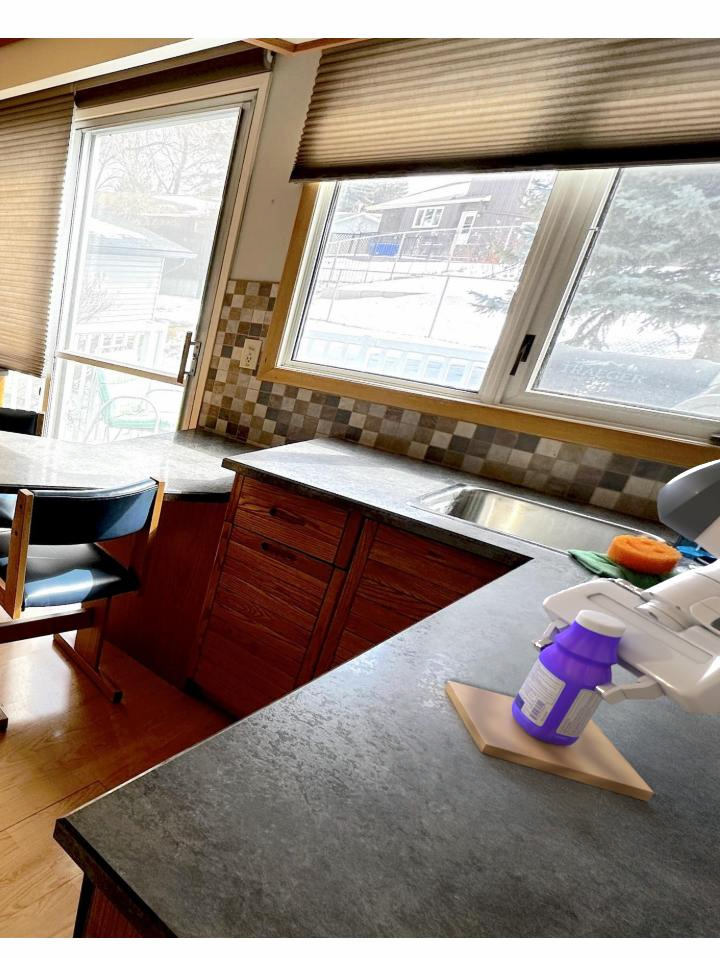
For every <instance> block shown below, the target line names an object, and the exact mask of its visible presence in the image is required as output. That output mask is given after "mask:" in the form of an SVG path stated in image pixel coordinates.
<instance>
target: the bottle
mask: <svg viewBox="0 0 720 958" xmlns="http://www.w3.org/2000/svg"><path fill="white" fill-rule="evenodd" d="M625 630H626V625H625V624H624V623H622V622H621V621H619V620H617V619H616V618H613V617H611V616H609V615H606V614H603V613H600V612H596V611H591V610H582V611H580V612H579V614H578V616H577V617H576V619H575V621H574V622H573V624H572V625H571V626H570V627H569V628H568V629H567V630H565V631H564V632H562V633H559V634H557V635H556V636H555V642H556V643H555V644H553V645H551V646H548V647H547V648H545V649H544V650H543V651H542V652H541V653H539V655H538V657H537V658H536V661H535V662H534V665H533V666H532V668H531V670H530V672H529V673H528V675H527V677H526V679H525V681H524V682H523V684H522V686H521V688H520V689H519V691H518V693H517V695H516V697H515V698H516V699H515V700H514V701H513V704H512V714H513V716H514V718H515V720H516V721H517V722H518V723H519V725H520V726H521V727H522V728H523V729H524V730H525V731H526V732H528V733H529V734H530V735H532V736H533V737H535V738H537V739H539V740H542V741H544V742H548V743H553V744H556V745H563V746H569V745H572V744H573V743H575V742H576V741H577V740H578V739H579V736H580V735H581V733H582V732H583V730H584V728H585V727H586V725H587V724H588V722H589V720H590V719H591V720H592V717H593V716H594V714H595V712H596V711H597V710H598V708H599V706H600V704H601V703H602V701H603V699H602V698H601V697H600V696H598V694H597V693H596V691H595V688H596V687H597V686H599V685H603V684H604V683H606V682H608V681H610V682H612V681H613V671H612V666H614V665H618V664H617V663H618V662H619V657H618V654H617V649H618V644H619V641H620V639H621V637H622V635H623V633H624V631H625ZM612 683H613V682H612Z"/></svg>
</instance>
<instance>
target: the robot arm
mask: <svg viewBox="0 0 720 958" xmlns="http://www.w3.org/2000/svg"><path fill="white" fill-rule="evenodd" d="M656 501H657V505H656V507H657V514H658V518H659V521H660V523H662V524H664V525H665V526H667V527H668V528H670V529H672V530H673V531H674V532H676V533H678V534H679V535H681V536H682V537H684V538H685V539H687V540H689V541H690V542H694V543H696V545H698V546H700V547H701V548H702V549H704V550H705V551H706V552H707V553H708V554H710V555H711V556H712V557H714V558H716V560H715V561H713V562H712V563H710V564H708V565H705V566H702V567H697V568H692V569H688V570H685V571H683V572H681V573H679V574H677V575H675V576H673V577H670V578H668V579H666V580H664V581H662V582H659V583H658V584H656V585H653V586H651V587H649V588H646V589H644V588H640V587H638V586H636V585H634V584H632V582H629V581H628V580H626V579H622V578H617V579H616V578H605V577H601V578H598V579H594V580H592V581H587V582H584V583H581V584H578V585H575V586H572V587H570V588H566V589H564V590H561V591H559V592H556V593H553V594H551V595H549V596H547V597H545V598H544V600H543V602H542V604H541V607H542V609H543V611H544V612H545V614H546V615H547V617H548V618H549V620H550V621H551V622H550V623H549V625H548V626H547V628H546V629H545V631H544V633H543V635H540V636H539V637H537V638H535V639H532V641H530V644H531V646H532V647H533V649H534V650H535V651H537V652H538V653H539V654H540V653H541V652H542V651H543V650H544V649H545V648H547V647H548V646H551V645H553V644H555V643H556V642H555V636H556V635H557V634H559V633H562V632H564V631H565V630H567V629H568V628H569V627H570V626H571V625H572V624H573V622H574V621H575V619H576V617H577V616H578V614H579V612H580V611H582V610H591V611H596V612H600V613H603V614H606V615H609V616H611V617H613V618H616V619H617V620H619V621H621V622H622V623H624V624H625V625H626V630H625V631H624V633H623V635H622V637H621V639H620V641H619V644H618V649H617V654H618V657H619V662H618V663H617V664H616V665H618V666H619V667H621V668H622V669H623V670H625V671H627V672H628V673H629V674H631V675H633V676H635V677H636V678H635V681H636V682H635V683H624V684H615V683H613V682H610V681H608V682H606V683H604V684H603V685H599V686H597V687H596V688H595V691H596V693H597V694H598V696H600V697H601V698H602V701H603V700H604V701H605V702H606V703H608V704H609V705H617V704H619V703H621V702H623V701H626V700H629V701H630V700H656V699H658V698H661V697H663V696H665V697H666V698H668V699H669V700H671V701H672V702H674V703H675V704H676V705H678V706H680V707H681V708H682V709H684V710H686V711H687V712H689V713H691V714H694V715H715V714H718V713H720V459H717V460H713V461H708V462H707V463H703V464H700V465H697V466H695V467H692V468H690V469H688V470H686V471H684V472H682V473H680V474H678V475H677V476H675V477H673V478H672V479H671V480H670V481H668V482H667V483H666V484H665V485H664V486H662V487H661V488H660V489H659V490H658V494H657V500H656Z"/></svg>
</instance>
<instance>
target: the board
mask: <svg viewBox="0 0 720 958" xmlns="http://www.w3.org/2000/svg"><path fill="white" fill-rule="evenodd" d="M444 690H445V692H446V694H447V696H448V698H449V699H450V700H451V703H452V704H453V706H454V707H455V709H456V711H457V713H458V715H459V716H460V718H461V720H462V722H463V723H464V726H465V727H466V729H467V730H468V732H469V734H470V736H471V738H472V739H473V741H474V742H475V744H476V746H477V748H478V750H479V751H480V753H481V754H483V755H487V756H491V757H494V758H498V759H500V760H504V761H508V762H511V763H514V764H517V765H521V766H525V767H528V768H532V769H535V770H539V771H541V772H545V773H548V774H552V775H554V776H555V775H556V776H559V777H562V778H566V779H569V780H573V781H575V782H579V783H582V784H586V785H588V786H589V785H590V786H592V787H596V788H600V789H603V790H606V791H608V792H609V791H610V792H613V793H617V794H620V795H622V796H626V797H630V798H633V799H636V800H641V801H644V802H647V803H648V802H649V801H650V799H651V798H652V797H653V795H654V794H655V791H653V790H652V788H651V787H650V786H649V785H648V783H647V782H646V781H645V780H644V779H643V778H642V777H641V775H639V773H638V772H637V771H636V769H634V767H633V766H632V765H631V764H630V763H629V761H628V760H627V759H626V758H625V757H624V755H623V754H621V753H620V751H619V750H618V748H616V746H615V745H614V744H613V743H612V741H610V739H609V738H608V737H607V736H606V735H605V734H604V733H603V731H602V730H601V728H599V727H598V726H597V724H596V723H595V722H594V721H593V720H592V718H591V719H590V720H589V722H588V724H587V725H586V727H585V728H584V730H583V732H582V733H581V735H580V736H579V739H578V740H577V741H576V742H575V743H573V744H572V745H569V746H563V745H556V744H553V743H548V742H544V741H542V740H539V739H537V738H535V737H533V736H532V735H530V734H529V733H528V732H526V731H525V730H524V729H523V728H522V727H521V726H520V725H519V723H518V722H517V721H516V720H515V718H514V716H513V714H512V704H513V701H514V700H515V699H516V697H513V696H510V695H505V694H501V693H498V692H493V691H490V690H486V689H483V688H479V687H475V686H472V685H467V684H463V683H459V682H457V681H453V680H447V682H446V684H445V686H444Z"/></svg>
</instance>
